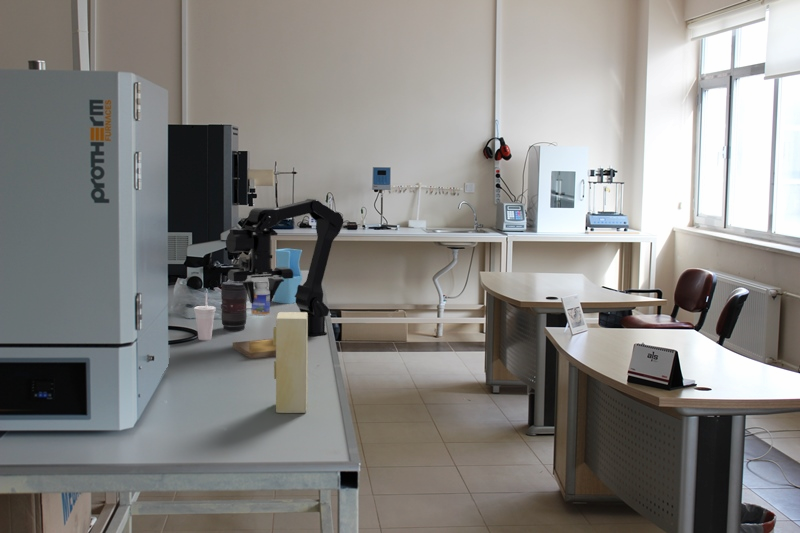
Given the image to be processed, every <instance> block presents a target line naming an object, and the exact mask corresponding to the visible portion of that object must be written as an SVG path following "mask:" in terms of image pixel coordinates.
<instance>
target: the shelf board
mask: <svg viewBox="0 0 800 533" xmlns="http://www.w3.org/2000/svg"><path fill="white" fill-rule="evenodd" d="M232 349H234V350H236V351H237V352H239V353H240V354H243V355H244V356H246V357H247V358H249V359H257V358H259V359H260V358H267V357H276V345H273V338H266V339H265V338H264V339H255V340H246V341H235V342H232Z"/></svg>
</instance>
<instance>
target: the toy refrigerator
mask: <svg viewBox="0 0 800 533" xmlns="http://www.w3.org/2000/svg"><path fill="white" fill-rule="evenodd" d="M272 330H273V338H272V339H273V345H276V356H275V361H274V362H273V363H274V364H273V370H274V371H273V378H274V380H275V413H276V414H277V413H278V414H305V413H307V409H308V407H307V406H308V337H309V336H308V313H307V312H300V311H297V312H295V311H280V312H278V313H277V316H276V319H275V326H274V327H273V329H272Z"/></svg>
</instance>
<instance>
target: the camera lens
mask: <svg viewBox="0 0 800 533" xmlns="http://www.w3.org/2000/svg"><path fill="white" fill-rule="evenodd" d="M221 284H222V285H221V289H220V290H221V291H220V292H221V294H220V295H221V304H220V309H221V317H220V318H221V325H222V326H223V330H224V331H226V332H227V331H228V332H239V331H242V330H245V329H246V328H245V327H246V325H247V324H246V323H247V313H248V312H247V300H248V294H247V291H246V289H245V287H244V285H243V284H242V283H241V282H235V281H223V282H222V283H221Z"/></svg>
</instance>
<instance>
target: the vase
mask: <svg viewBox="0 0 800 533" xmlns="http://www.w3.org/2000/svg"><path fill="white" fill-rule="evenodd" d="M302 253H303V250H302V249H294V248H279V249H275V257H276V266H275V268H276V267H287V268H290V269H292V270H293V278H289V279H284V278H283V277H282V279H283V280H284V282H281V283H280V285H279V287H278V288H277V290H276V292H275V295H274V297H273V299H272V302H274V303H280V304H284V305H285V304H287V305H288V304H289V305H290V304H296V297H295V295H296V293H297V287H298V285H302V284H301V283H302V280H303V274H302V271H301V268H300V267H301V266H300V261H301V260H300V259H301V256H302Z"/></svg>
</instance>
